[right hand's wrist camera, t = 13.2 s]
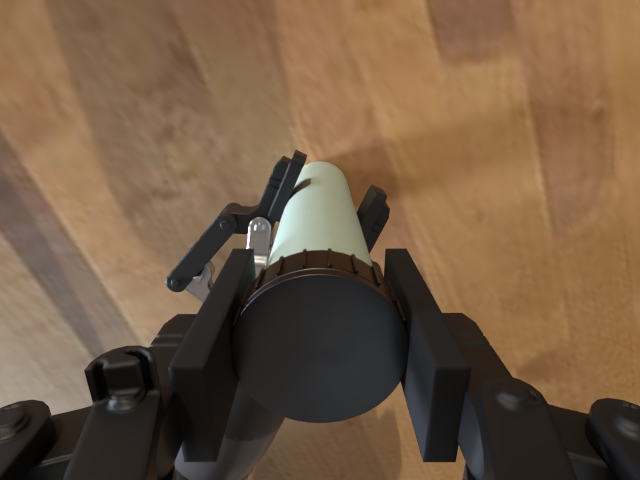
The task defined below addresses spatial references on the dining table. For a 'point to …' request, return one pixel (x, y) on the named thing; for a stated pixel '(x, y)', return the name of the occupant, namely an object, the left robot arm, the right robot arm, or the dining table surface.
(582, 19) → the dining table surface
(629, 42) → the dining table surface
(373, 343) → the lid
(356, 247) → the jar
